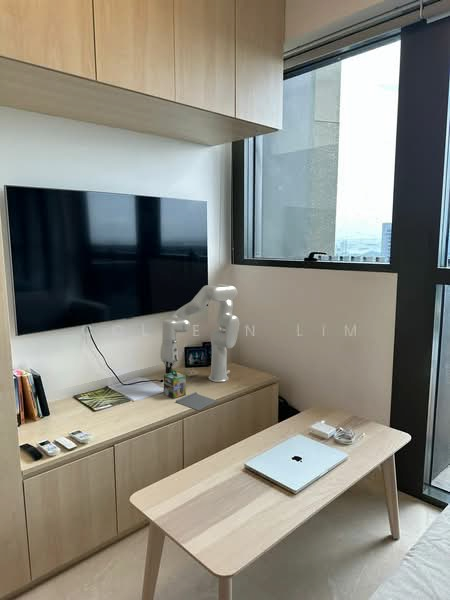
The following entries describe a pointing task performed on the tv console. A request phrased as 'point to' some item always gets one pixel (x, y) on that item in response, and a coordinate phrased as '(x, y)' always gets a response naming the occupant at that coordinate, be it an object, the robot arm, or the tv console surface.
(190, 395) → the mat
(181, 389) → the chalk box
